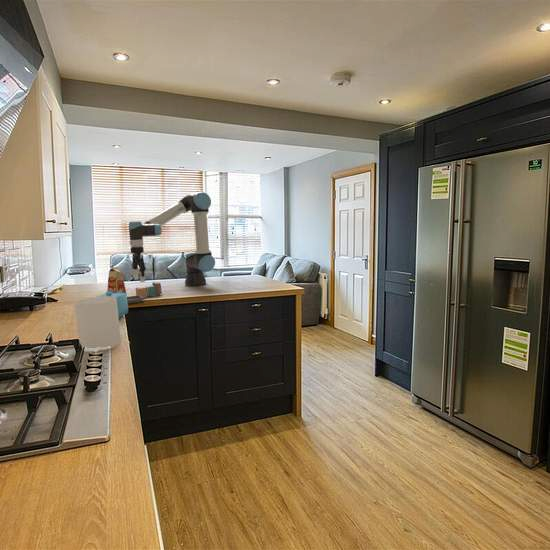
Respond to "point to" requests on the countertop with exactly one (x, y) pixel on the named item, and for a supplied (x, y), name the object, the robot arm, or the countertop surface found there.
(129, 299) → the tray
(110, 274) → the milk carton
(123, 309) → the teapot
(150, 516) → the countertop surface
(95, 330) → the container
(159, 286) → the teal brown block
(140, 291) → the stub
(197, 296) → the countertop surface
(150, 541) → the countertop surface
